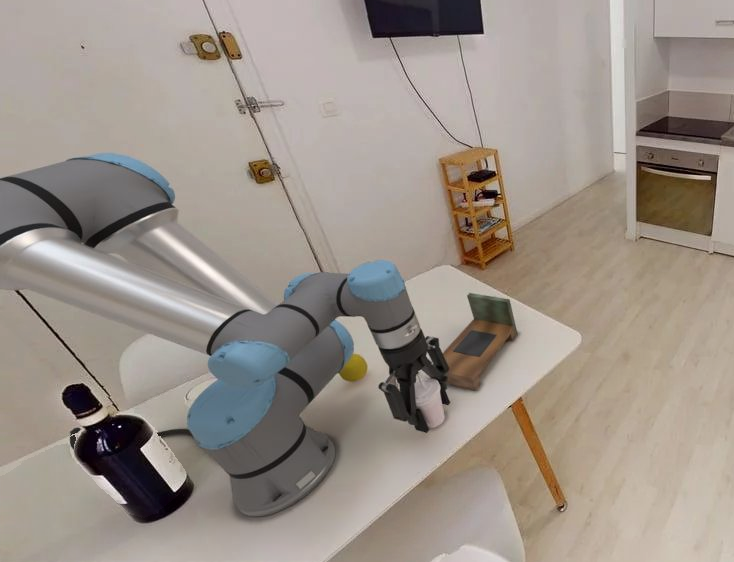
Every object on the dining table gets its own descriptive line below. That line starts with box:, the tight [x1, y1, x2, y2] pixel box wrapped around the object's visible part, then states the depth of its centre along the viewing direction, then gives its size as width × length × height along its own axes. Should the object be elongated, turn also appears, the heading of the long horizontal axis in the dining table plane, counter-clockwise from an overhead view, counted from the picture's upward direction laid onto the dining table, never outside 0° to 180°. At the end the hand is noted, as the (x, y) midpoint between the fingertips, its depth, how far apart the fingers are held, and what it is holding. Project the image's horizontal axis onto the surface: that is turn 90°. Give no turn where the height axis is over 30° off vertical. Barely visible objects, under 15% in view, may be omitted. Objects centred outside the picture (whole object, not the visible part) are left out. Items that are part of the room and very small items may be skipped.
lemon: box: [338, 353, 368, 383], centre depth 97 cm, size 6×6×8 cm
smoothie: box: [414, 371, 446, 429], centre depth 85 cm, size 6×6×14 cm
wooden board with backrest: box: [432, 292, 518, 391], centre depth 102 cm, size 12×19×12 cm, turn 165°
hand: (433, 415), depth 88 cm, fingers closed on smoothie, 6 cm apart
